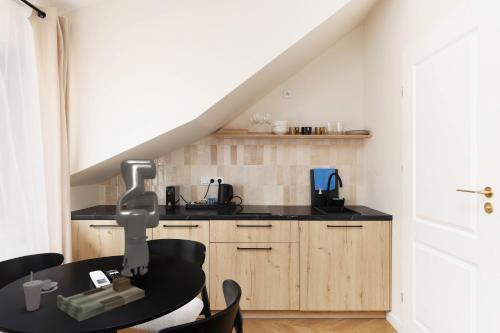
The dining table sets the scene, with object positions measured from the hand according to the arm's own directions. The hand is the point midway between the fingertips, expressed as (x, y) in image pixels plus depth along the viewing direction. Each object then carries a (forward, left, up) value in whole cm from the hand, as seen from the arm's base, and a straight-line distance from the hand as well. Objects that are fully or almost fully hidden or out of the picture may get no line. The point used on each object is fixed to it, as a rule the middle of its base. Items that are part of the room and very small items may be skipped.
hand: (136, 282), depth 135 cm
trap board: (0, -15, -3) cm, 15 cm away
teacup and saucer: (-30, -21, -4) cm, 37 cm away
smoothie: (-15, -34, -4) cm, 37 cm away
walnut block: (0, -7, -1) cm, 7 cm away
